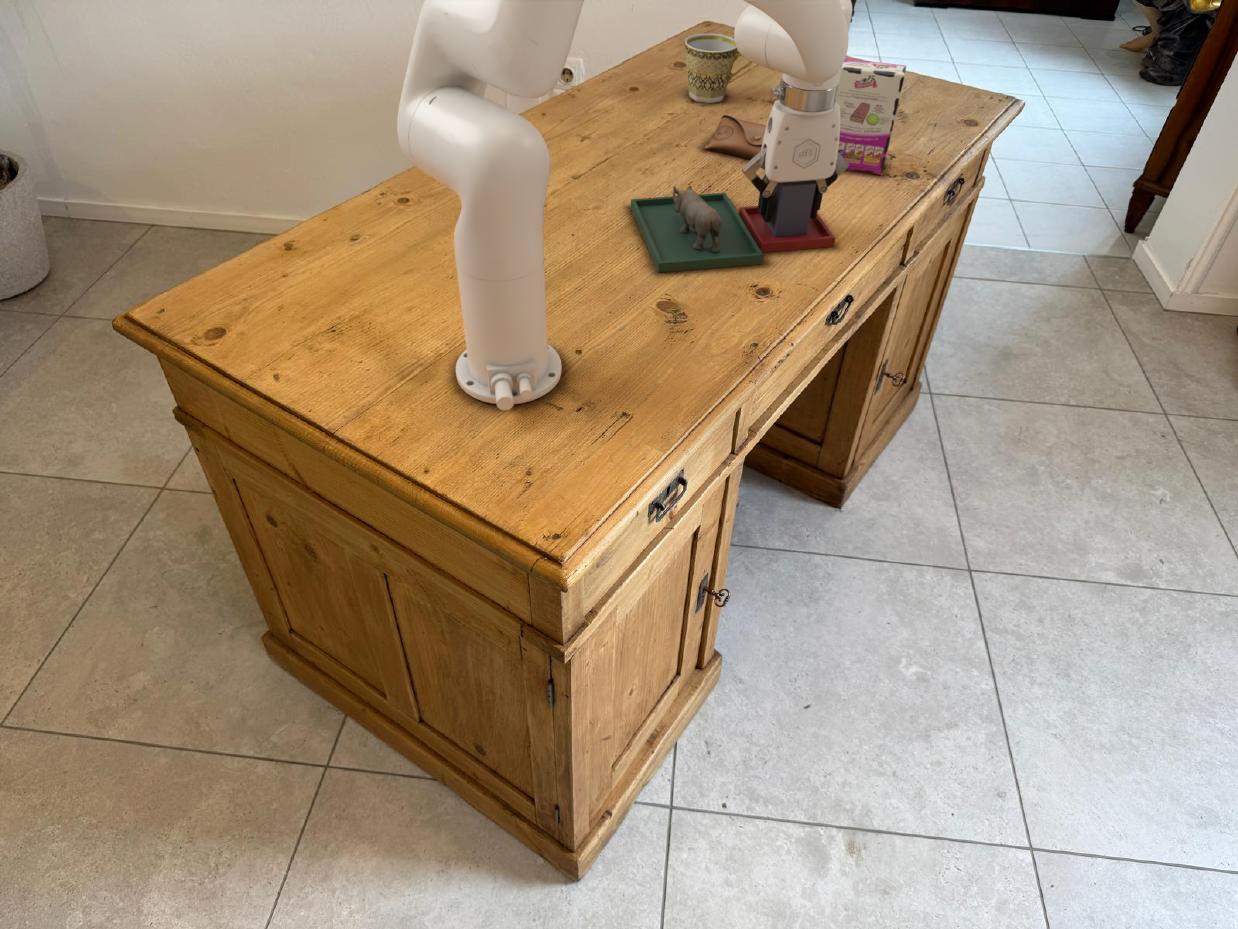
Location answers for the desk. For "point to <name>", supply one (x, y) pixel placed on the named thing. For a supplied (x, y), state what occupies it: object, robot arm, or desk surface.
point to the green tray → (693, 236)
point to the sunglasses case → (737, 137)
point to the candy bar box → (867, 112)
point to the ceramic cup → (710, 65)
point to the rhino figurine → (697, 217)
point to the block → (791, 208)
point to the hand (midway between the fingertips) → (787, 215)
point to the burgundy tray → (768, 242)
